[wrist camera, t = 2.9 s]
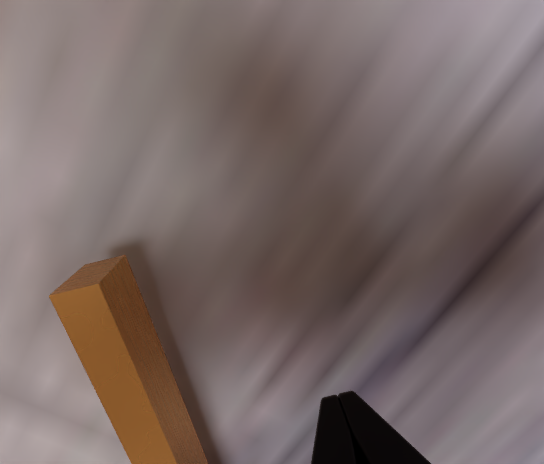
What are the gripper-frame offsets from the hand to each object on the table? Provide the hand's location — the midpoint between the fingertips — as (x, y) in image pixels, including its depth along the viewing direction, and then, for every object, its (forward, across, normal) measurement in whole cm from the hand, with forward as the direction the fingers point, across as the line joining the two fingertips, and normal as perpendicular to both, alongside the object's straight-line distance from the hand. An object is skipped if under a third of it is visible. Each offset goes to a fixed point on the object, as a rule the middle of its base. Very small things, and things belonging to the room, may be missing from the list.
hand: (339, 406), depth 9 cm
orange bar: (+4, +6, +6) cm, 10 cm away
